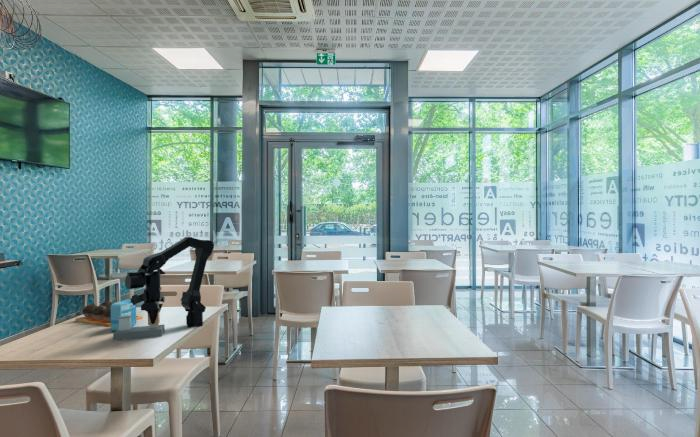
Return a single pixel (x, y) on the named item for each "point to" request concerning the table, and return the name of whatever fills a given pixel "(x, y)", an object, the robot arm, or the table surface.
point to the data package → (122, 313)
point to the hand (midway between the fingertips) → (153, 322)
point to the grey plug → (124, 322)
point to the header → (139, 332)
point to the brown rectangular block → (155, 322)
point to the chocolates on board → (98, 314)
